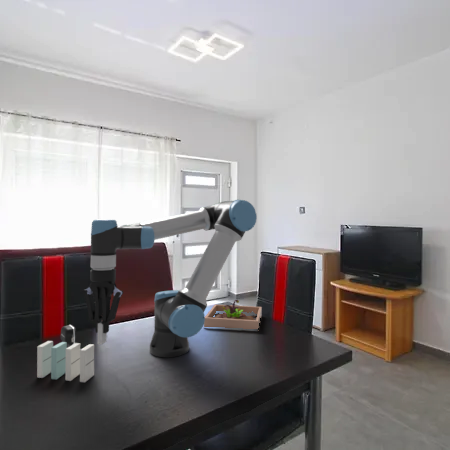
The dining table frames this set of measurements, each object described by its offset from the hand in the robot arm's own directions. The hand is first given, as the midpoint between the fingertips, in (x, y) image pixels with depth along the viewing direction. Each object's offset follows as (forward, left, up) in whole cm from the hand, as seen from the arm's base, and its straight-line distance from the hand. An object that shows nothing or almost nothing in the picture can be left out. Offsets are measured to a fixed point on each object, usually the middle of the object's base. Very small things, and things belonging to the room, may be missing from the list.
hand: (102, 342), depth 103 cm
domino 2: (+10, 0, -12) cm, 16 cm away
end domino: (+20, 0, -12) cm, 23 cm away
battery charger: (+21, -13, -12) cm, 28 cm away
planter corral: (-33, -67, -12) cm, 76 cm away
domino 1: (+15, 0, -12) cm, 19 cm away
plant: (-32, -68, -13) cm, 76 cm away
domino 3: (+5, 0, -12) cm, 13 cm away
